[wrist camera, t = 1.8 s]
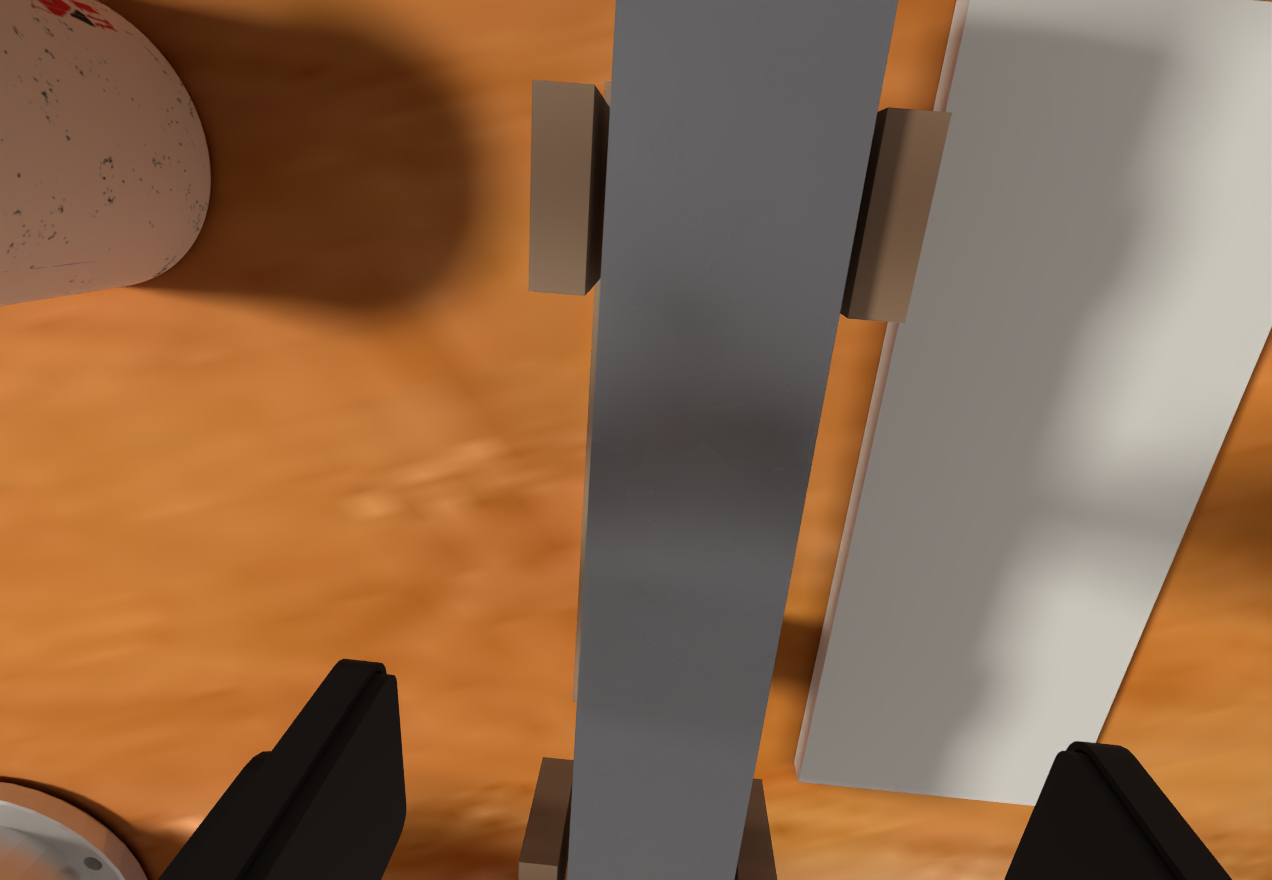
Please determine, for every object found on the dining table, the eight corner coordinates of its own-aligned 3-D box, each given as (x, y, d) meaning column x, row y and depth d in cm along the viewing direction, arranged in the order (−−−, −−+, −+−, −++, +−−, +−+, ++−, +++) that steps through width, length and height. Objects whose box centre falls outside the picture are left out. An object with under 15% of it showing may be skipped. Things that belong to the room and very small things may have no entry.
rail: (690, 946, 20) (693, 1096, 17) (575, 934, 20) (556, 1081, 17) (865, -149, 11) (956, -312, 7) (646, -164, 11) (635, -333, 7)
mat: (1053, 788, 27) (1067, 809, 26) (794, 761, 28) (798, 781, 27) (1366, 21, 18) (1405, 11, 17) (958, -9, 18) (974, -21, 17)
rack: (720, 698, 27) (751, 1012, 16) (576, 684, 27) (516, 986, 17) (812, 103, 19) (980, -13, 9) (608, 87, 19) (534, -45, 9)
